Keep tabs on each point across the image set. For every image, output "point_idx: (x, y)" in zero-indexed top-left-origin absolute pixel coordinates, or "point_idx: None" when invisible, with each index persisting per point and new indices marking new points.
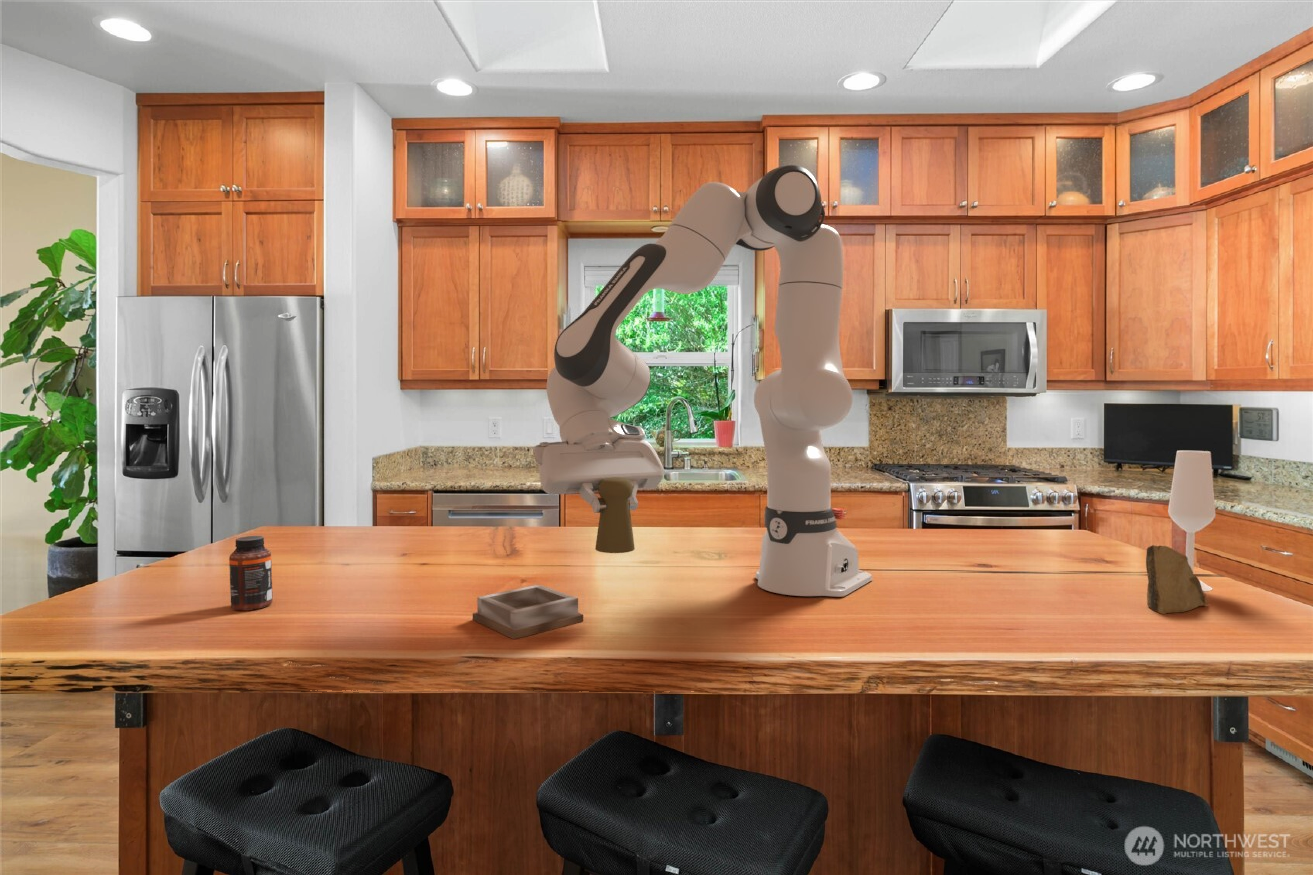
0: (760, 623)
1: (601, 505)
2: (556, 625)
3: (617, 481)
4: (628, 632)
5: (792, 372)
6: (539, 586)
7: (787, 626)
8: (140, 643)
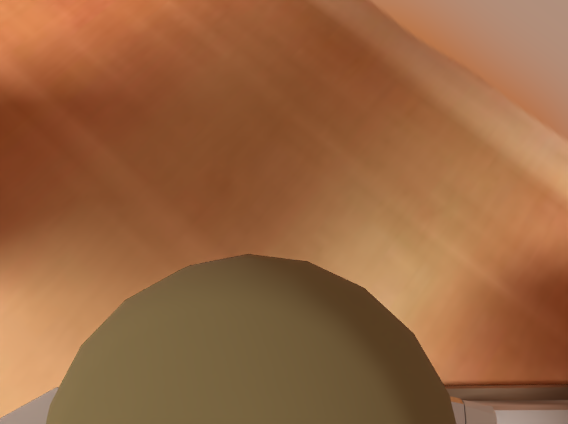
0: (88, 71)
1: (451, 403)
2: (530, 385)
3: (322, 314)
4: (378, 219)
5: None
6: None
7: (65, 22)
8: None
